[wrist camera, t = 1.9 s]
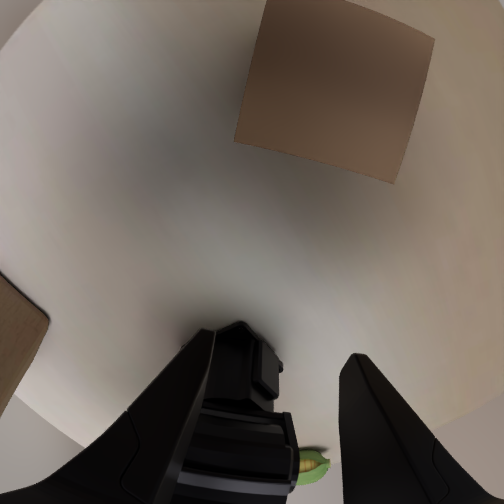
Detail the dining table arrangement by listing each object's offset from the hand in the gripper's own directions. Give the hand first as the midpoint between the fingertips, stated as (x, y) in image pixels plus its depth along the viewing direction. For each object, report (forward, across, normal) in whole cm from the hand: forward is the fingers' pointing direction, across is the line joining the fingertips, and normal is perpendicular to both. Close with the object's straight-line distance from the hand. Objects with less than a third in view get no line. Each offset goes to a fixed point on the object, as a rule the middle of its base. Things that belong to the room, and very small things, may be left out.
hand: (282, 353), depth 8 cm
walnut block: (+12, 0, -7) cm, 14 cm away
